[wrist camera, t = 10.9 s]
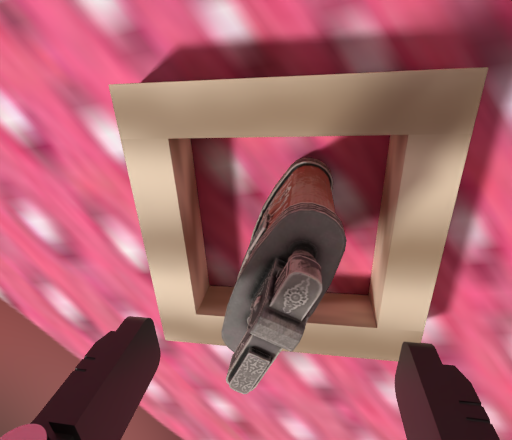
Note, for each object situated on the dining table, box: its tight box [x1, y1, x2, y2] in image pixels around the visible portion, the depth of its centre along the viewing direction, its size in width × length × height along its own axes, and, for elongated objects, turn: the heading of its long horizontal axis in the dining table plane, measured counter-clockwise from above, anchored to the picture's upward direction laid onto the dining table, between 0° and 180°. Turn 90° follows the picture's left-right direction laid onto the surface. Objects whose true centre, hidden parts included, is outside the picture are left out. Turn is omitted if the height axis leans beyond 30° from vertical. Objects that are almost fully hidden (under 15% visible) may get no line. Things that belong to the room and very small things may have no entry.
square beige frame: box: [109, 67, 488, 361], centre depth 18 cm, size 16×16×3 cm
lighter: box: [221, 158, 346, 394], centre depth 15 cm, size 8×3×10 cm, turn 157°
